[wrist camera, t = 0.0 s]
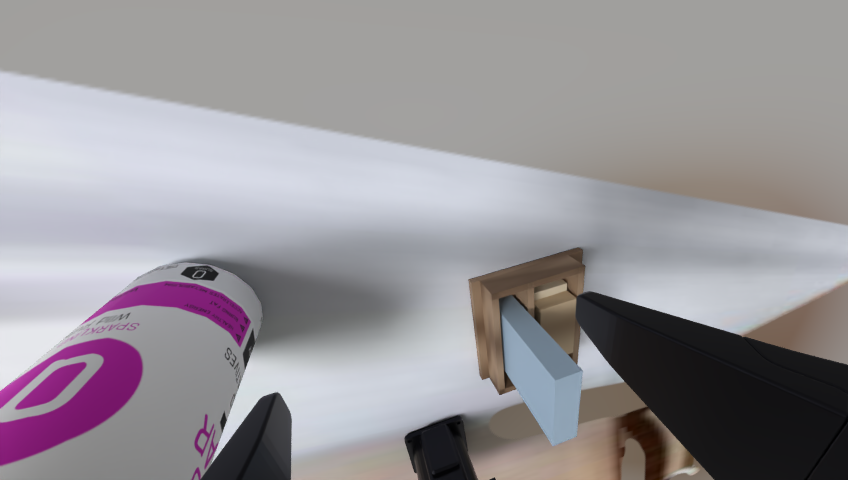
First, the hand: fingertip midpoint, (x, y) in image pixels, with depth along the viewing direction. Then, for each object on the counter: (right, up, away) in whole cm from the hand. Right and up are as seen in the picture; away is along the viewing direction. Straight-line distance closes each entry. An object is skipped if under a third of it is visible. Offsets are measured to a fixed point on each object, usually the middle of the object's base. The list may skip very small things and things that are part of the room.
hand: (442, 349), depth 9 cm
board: (+7, -5, +20) cm, 22 cm away
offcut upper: (+11, -5, +20) cm, 23 cm away
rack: (+10, -4, +21) cm, 24 cm away
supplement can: (-16, -2, +13) cm, 21 cm away
